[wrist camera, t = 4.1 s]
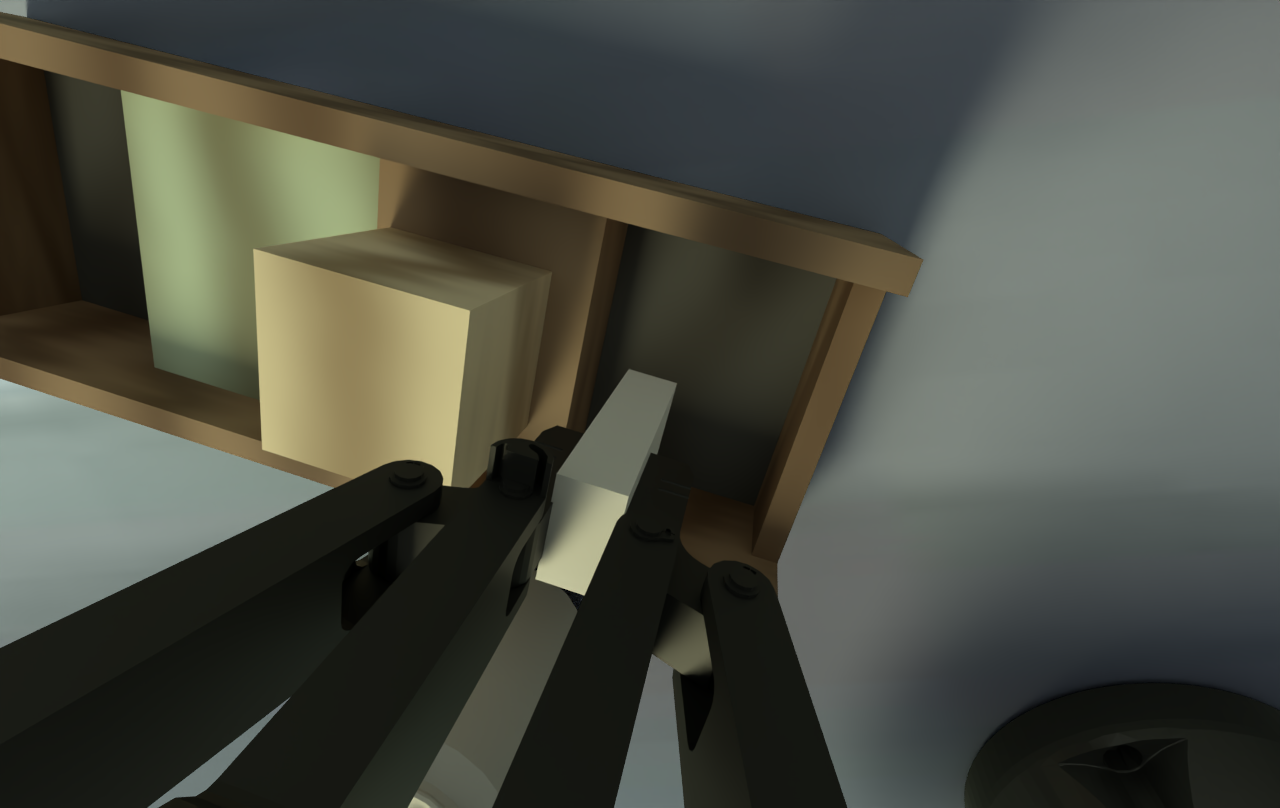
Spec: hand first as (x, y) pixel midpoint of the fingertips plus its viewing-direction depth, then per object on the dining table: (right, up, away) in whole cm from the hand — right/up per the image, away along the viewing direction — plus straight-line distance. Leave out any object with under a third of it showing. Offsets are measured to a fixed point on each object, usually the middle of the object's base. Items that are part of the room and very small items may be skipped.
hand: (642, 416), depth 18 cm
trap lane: (-10, +6, +8) cm, 14 cm away
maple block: (-7, +3, +4) cm, 8 cm away
